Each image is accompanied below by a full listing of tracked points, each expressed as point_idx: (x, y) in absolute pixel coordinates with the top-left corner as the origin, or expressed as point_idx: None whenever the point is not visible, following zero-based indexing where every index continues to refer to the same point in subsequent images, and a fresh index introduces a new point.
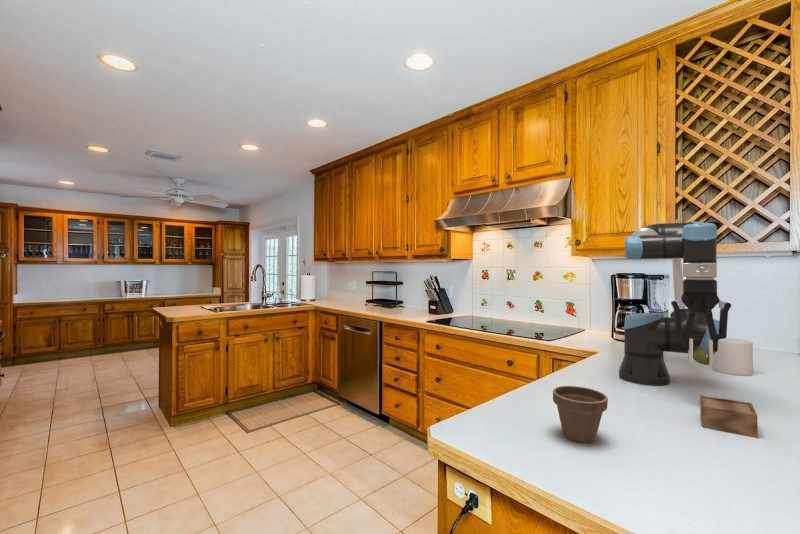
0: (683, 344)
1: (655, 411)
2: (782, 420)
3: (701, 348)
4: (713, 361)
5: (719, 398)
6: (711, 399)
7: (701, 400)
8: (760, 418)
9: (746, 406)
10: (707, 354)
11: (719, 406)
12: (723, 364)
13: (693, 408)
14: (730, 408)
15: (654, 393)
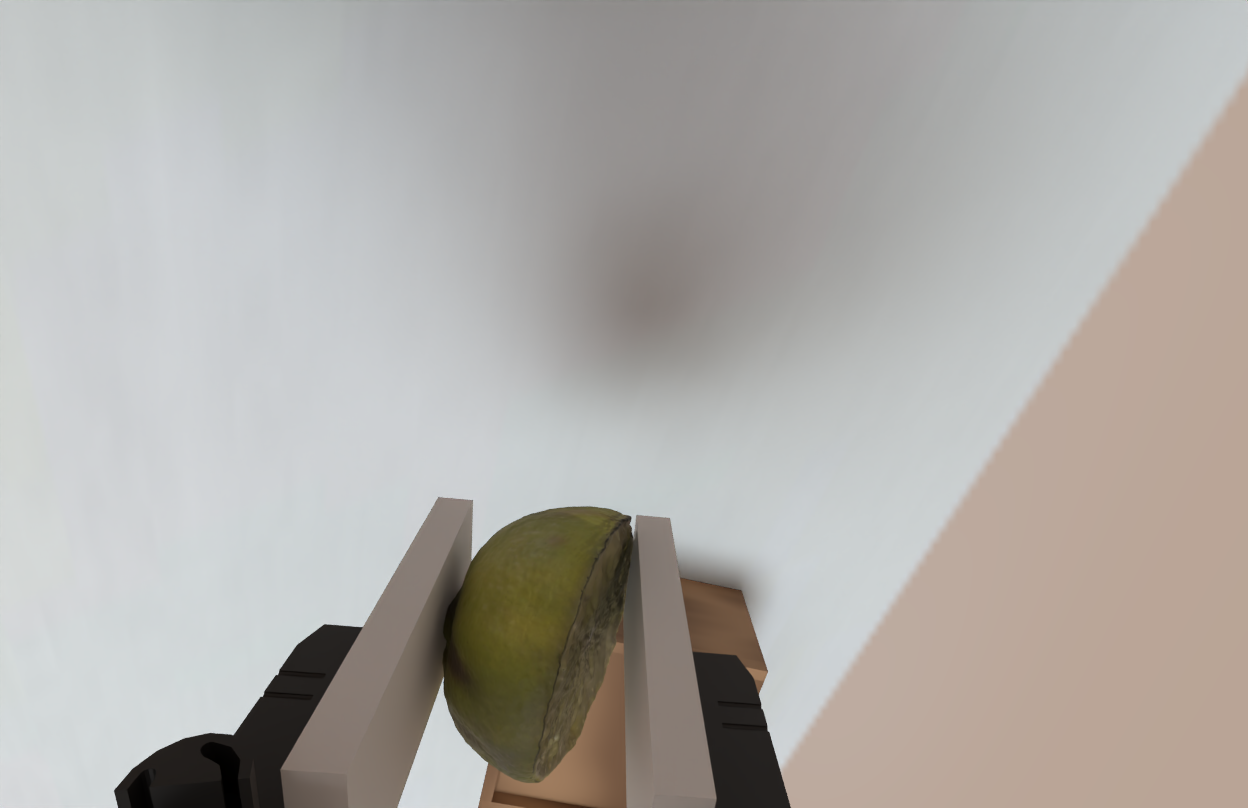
0: (274, 688)
1: (321, 577)
2: (934, 472)
3: (522, 778)
4: None
5: (617, 649)
6: None
7: None
8: (833, 482)
9: None
10: (639, 581)
11: (578, 745)
12: None
13: (530, 442)
14: (623, 757)
15: (329, 166)
